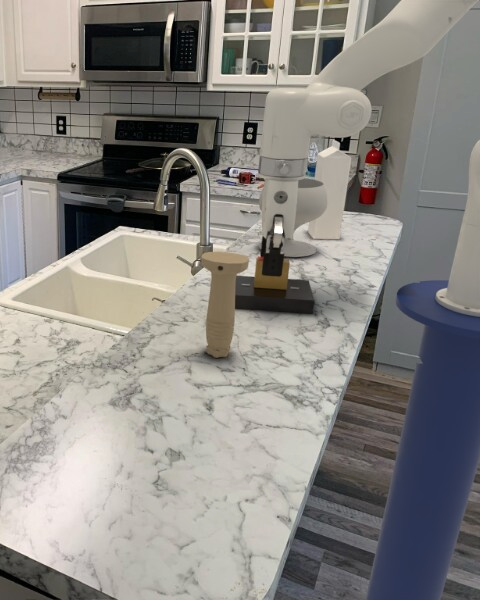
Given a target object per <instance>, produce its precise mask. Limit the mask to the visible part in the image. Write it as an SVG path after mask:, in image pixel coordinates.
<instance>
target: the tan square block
mask: <svg viewBox="0 0 480 600" xmlns="http://www.w3.org/2000/svg"><path fill="white" fill-rule="evenodd" d="M290 264H291V263H290V259H289V258H284V261H283V269H282V275H281V276H280V277H276V276H264V275H262V265H263V257H261V256H260V255H259V256H257V257H255V267H254V277H255V278H254V288H268V289H283V290H287V282H288V279H289V273H290V266H291V265H290Z"/></svg>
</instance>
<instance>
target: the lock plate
mask: <svg viewBox="0 0 480 600" xmlns="http://www.w3.org/2000/svg"><path fill="white" fill-rule="evenodd" d="M254 278H255V276H250V275H249V276H248V275H236V282H235V309H239V310H243V309H244V310H255V311H265V312H266V311H267V312H280V313H293V314H305V315H307V314H308V315H313V314H314V308H315V297H314V293H313V289H312V286H311V283H310V280H309V279H298V278H297V279H295V278H288V282H287V290H283V289H268V288H254Z"/></svg>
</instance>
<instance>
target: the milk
mask: <svg viewBox="0 0 480 600" xmlns="http://www.w3.org/2000/svg"><path fill="white" fill-rule="evenodd" d="M340 147H341V143H340V142H339V141H337V140H335V139H332V141H331V146H329V147H327V148H325V149H324V150H322V151H320V152H318V153H317V155H316V156H317V157H316V165H315V172H314V179H313V180H317V181H320V182H322V183H323V184H324V186H325V188H326V192H327V208H326V210H325V212H324V213H323V214H322V215H321V216H320V217H319V218H317V219H315V220H313V221H310V222H308V227H307V233H308V234H309V235H310V237H311V238H312V239H313V240H340V238H341V232H342V225H343V220H344V219H343V218H344V211H345V205H346V198H347V191H348V186H349V185H348V184H349V178H350V170H351V164H352V157H351V156H349V155H348V154H346V153H345V152H343V151H342V150H340Z"/></svg>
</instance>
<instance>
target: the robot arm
mask: <svg viewBox="0 0 480 600" xmlns="http://www.w3.org/2000/svg"><path fill="white" fill-rule="evenodd" d="M478 2H480V0H400V1H399V2H398V3H397V4H396V5H395V6H394V8H392V10H391V11H389V13H388V14H387V15H386V16H385V17H384V18H383V19H382V20H380V21H379V22H378V23H377V24H376V25H374V26H373V27H371V28H369V30H367V31H366V32H364V34H363V35H361V36H360V37H359V38H357V39H356V40H355V41H354V42H352V43H351V44H350V45H349V46H347V47H346V48H344V49H343V50H342V51H341V52H339V53H338V54H337V55H336V56H335V57H334V58H333V59H332V60H330V62H328V64H327V65H326V66H324V68H323V69H322V70H321V71H320V72H319V73H318V74H317V75H316V77H314V79H313V80H312V81H311V82H310V83H309V84H308V85H307V87H305V88H301V87H278V88H273V89H271V90H270V91H268V93H267V95H266V97H265V102H264V112H263V119H262V120H263V121H262V122H263V123H262V130H261V139H260V140H261V142H260V150H259V158H258V159H259V161H258V170H257V177H258V178H262V179H264V182H263V186H264V190H263V201H262V211H261V233H262V237H261V243H262V244H261V243H260V244H261V249H260V255H259V257H263V265H262V275H264V276H276V277H280V276H281V275H282V269H283V261H284V259H285V256H284V239H285V236H286V238H288V239H289V240H292V239H294V236H295V235H294V233H295V231H294V225H295V215H296V206H297V196H298V180H302V179H305V178H306V176H307V175H306V173H307V167H308V160H309V153H310V147H311V146H310V145H311V139H312V136H313V135H314V136H321V137H322V136H323V137H324V136H325V137H330V138H336V139H337V138H339V139H340V138H341V139H342V138H348V137H352V136H354V135H356V134H358V133H360V132H361V131H362V130H364V129H365V128H366V126H367V125H368V124H369V122H370V119H371V117H372V111H373V110H372V109H373V108H372V104H371V101H370V99H369V97H368V96H367V95H366V94H365V93H363V92H362V90H363V89H364V88H366V87H367V86H369V84H371V83H372V82H374V81H375V80H377V79H379V78H380V77H382V76H384V75H385V74H388V73H391V72H393V71H395V70H398V69H401V68H403V67H406V66H408V65H410V64H413V63H414V62H416V61H418V60H420V59H422V58H423V57H425V56H426V55H428V54H429V53H430V52H431V51H432V49H433V48H434V47H435V46H436V45H437V44H438V43H439V42H440V41H441V40H442V39H443V38H444V37H445V36H446V34H447V33H449V31H450V30H451V29H452V28H453V27H454V26H455V25H456V24H457V23H458V22H459V21H460V20H461V19H462V18H463V17H464V16H465V15H466V14H467V13H468V12H469V11H470V10H471V8H473V7H474V6H475V4H477V3H478ZM467 189H468V190H467V196H466V203H465V208H464V212H463V217H462V220H461V225H460V229H459V235H458V238H457V243H456V247H455V253H454V257H453V261H452V266H451V269H450V274H449V278H448V281H449V283H448V287H447V288H445V289H441V290H439V291H438V292H437V293H436V297H435V300H436V301H437V303H438V304H440V305H441V306H443V307H444V308H447V309H449V310H451V311H454V312H457V313H461V314H465V315H469V316H475V317H480V139H478V140H477V142H476V143H475V144H474V146H473V147H472V150H471V153H470V156H469V160H468V188H467Z"/></svg>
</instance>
